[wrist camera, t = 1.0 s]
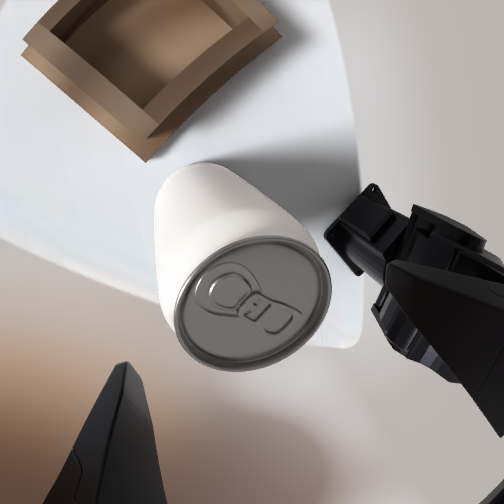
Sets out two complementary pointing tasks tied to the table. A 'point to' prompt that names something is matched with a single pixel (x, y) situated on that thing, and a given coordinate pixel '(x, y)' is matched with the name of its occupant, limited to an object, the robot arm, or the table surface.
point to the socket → (146, 58)
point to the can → (235, 271)
